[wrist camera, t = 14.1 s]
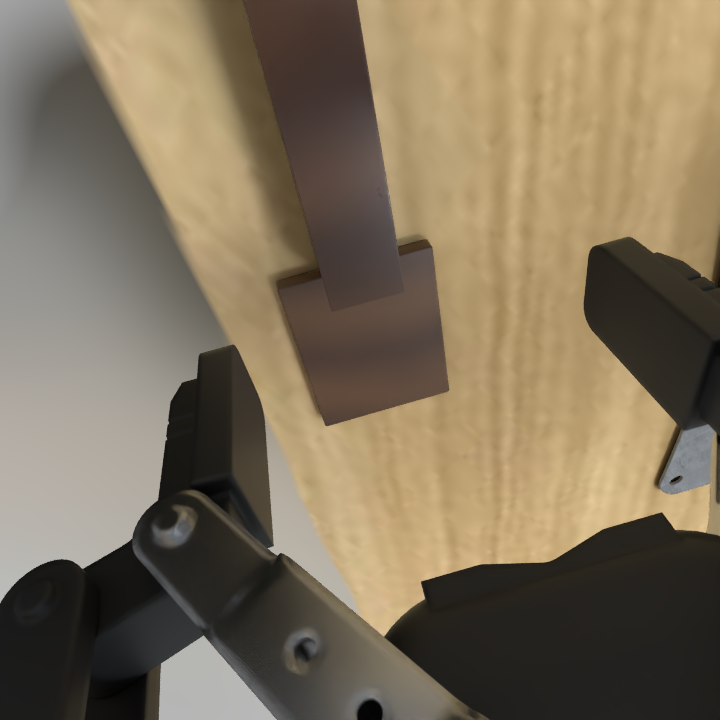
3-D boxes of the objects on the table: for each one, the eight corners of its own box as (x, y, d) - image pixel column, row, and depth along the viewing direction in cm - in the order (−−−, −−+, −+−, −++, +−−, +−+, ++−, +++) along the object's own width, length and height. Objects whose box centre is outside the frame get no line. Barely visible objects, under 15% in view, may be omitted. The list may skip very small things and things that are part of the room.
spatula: (103, -206, 14) (72, -242, 11) (364, -272, 14) (399, -323, 11) (323, 417, 29) (334, 467, 26) (445, 381, 29) (467, 428, 27)
